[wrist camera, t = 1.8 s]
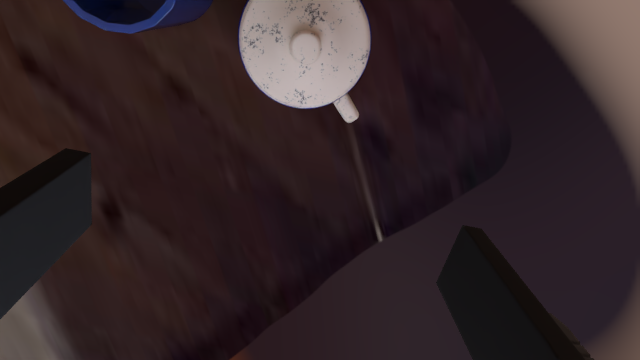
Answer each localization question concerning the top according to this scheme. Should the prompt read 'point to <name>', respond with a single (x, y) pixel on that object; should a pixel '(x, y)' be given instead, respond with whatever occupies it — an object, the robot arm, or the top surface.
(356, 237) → the top surface
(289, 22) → the teacup with lid
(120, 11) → the pen pot
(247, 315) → the top surface
